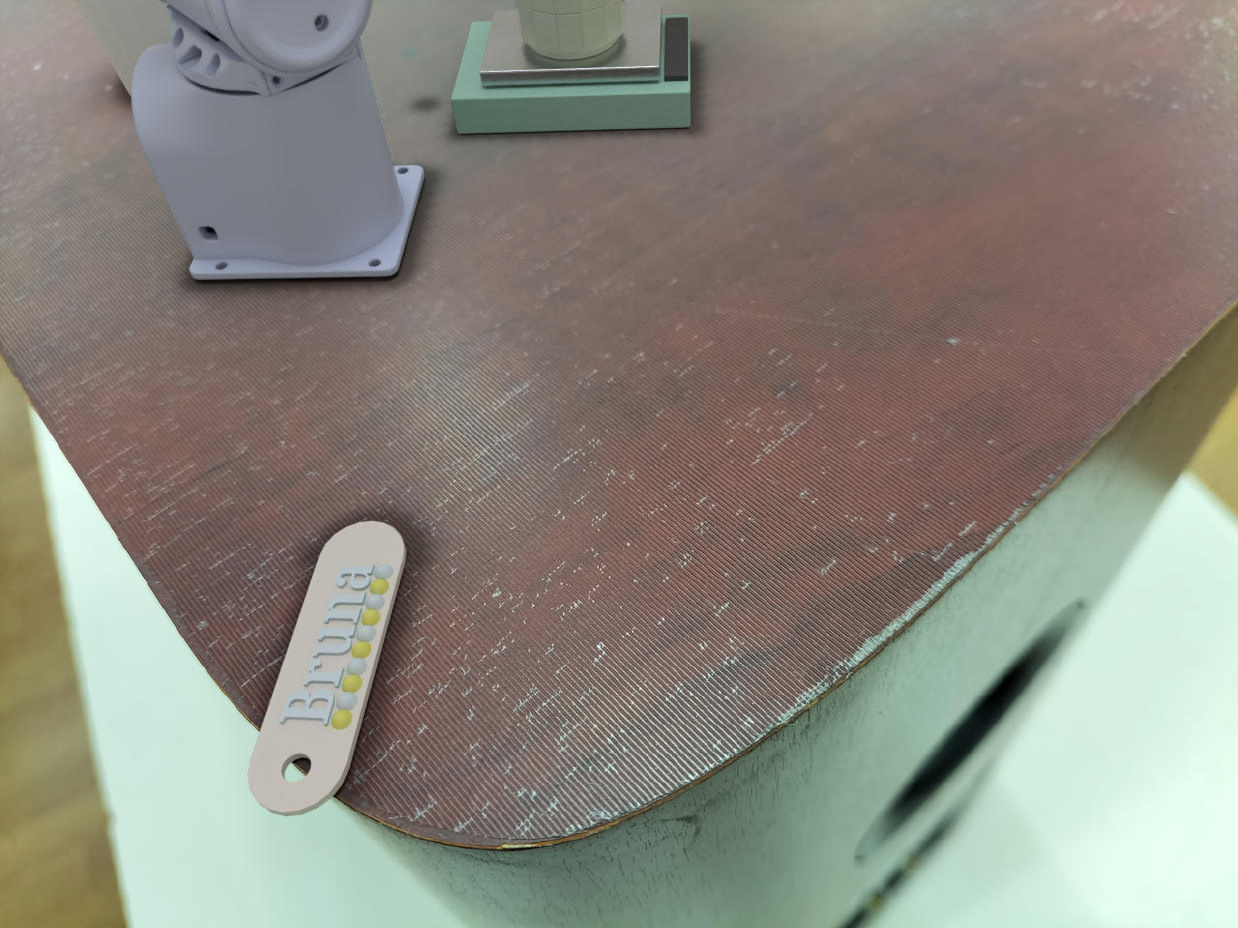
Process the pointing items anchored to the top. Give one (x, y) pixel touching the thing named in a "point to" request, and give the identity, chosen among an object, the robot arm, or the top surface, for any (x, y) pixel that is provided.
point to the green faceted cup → (570, 26)
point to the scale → (576, 94)
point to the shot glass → (127, 30)
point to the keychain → (328, 669)
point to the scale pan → (620, 63)
